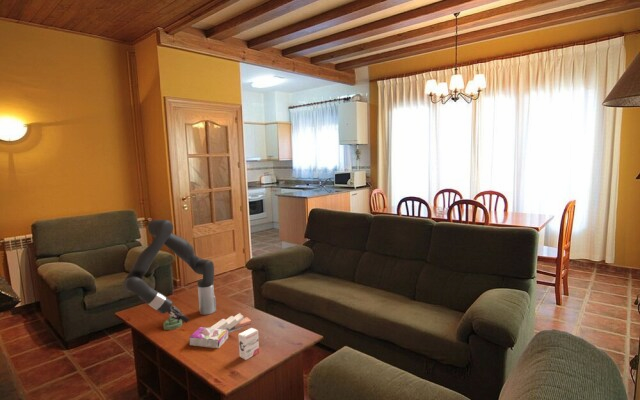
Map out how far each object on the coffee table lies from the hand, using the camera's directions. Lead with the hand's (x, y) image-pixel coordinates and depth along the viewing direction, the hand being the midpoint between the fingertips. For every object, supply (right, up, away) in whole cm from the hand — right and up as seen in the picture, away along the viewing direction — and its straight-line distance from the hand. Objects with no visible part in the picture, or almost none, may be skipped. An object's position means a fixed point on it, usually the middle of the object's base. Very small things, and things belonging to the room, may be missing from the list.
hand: (187, 320), depth 189 cm
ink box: (+35, -12, -13) cm, 39 cm away
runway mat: (+14, -10, +11) cm, 21 cm away
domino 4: (+20, -8, +15) cm, 26 cm away
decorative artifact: (-15, -10, +19) cm, 26 cm away
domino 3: (+17, -8, +13) cm, 23 cm away
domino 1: (+9, -9, +8) cm, 15 cm away
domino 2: (+13, -9, +11) cm, 19 cm away
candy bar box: (+3, -8, +1) cm, 9 cm away
